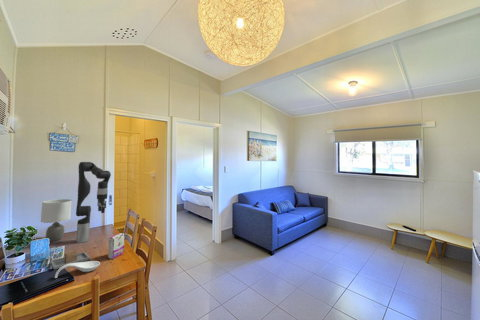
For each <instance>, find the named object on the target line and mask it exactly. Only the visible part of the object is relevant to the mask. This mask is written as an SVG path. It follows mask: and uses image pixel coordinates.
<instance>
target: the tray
mask: <svg viewBox="0 0 480 320" xmlns="http://www.w3.org/2000/svg"><path fill="white" fill-rule="evenodd" d="M64 259H65V256H63V257H59V258H55V259H52V260H50V266H51V267H52V270H53V269H58V268H61V267H62V266H64V265H66V264H70V263H79V262H88V261H91V257H90V256H89V255H88V254H87V252H85V251H83V252H77V261H73V262H70V263H65V261H64Z"/></svg>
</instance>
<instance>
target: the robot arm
mask: <svg viewBox="0 0 480 320" xmlns="http://www.w3.org/2000/svg"><path fill="white" fill-rule="evenodd" d="M87 172H91V174H92V175H94V176H95V178H96V179H100V180H101V179H102V180H101V181H98V183H97V191H96V200H97V205H96V206H97V207H98V208H97V211H98V212H100V214H104V213H105V211H106V208H107V201H106V200H107V199H108V187H109V185H108V184H109V181H110V179H111V177H112V174H111V171H109V170H103V169H102V168H100V167H98V166H97V165H96V164H94V162H91V161H81V162H79V163H78V185H77V203H76V208H75V209H76V210H75V213H76V214H75V216H77V217H83V218H80V219H78V220H77V224H76V225H77V226H76V236H75V237H76V239H75V240H76V241H75V242H76V243H77V244H83V243H86V242H89V240H90V224H91V223H90V222H91V213H92V207H91V205H82V204H83V202H84V200H85V199H86V198H87V197H88V196H89V195H90V193H91V183H90V182H89V180H88V179H87V178H86V176H85V173H87Z"/></svg>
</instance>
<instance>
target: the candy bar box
mask: <svg viewBox="0 0 480 320" xmlns="http://www.w3.org/2000/svg"><path fill="white" fill-rule="evenodd" d="M125 238H126V237H125V233H121V232H120V233H117V234H115V235H113V236H110V237H109V238H108V252H107V253H108V254H107V257H108V259H110V260H114V259H117V258H118V257H120V256H121V255H123V254H125ZM122 253H123V254H122ZM119 255H120V256H119ZM117 256H118V257H117Z"/></svg>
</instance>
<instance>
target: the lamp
mask: <svg viewBox="0 0 480 320" xmlns="http://www.w3.org/2000/svg"><path fill="white" fill-rule="evenodd" d="M71 214H72V199H70V198H69V199H67V198H66V199H65V198H61V199H60V198H58V199H49V200H44V201H41V213H40V222H41V223H43V224H48V223H49V224H51V223H52V224H51V225H50V226H48V227H47V229H46V232H45V239H46V238H49V239H50V241H49V242H55V241H60V239H62V238H63V237H64V236H65V226H64V225H63V224H61V223H60V222H65V221H68V220H70V219H71Z"/></svg>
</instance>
